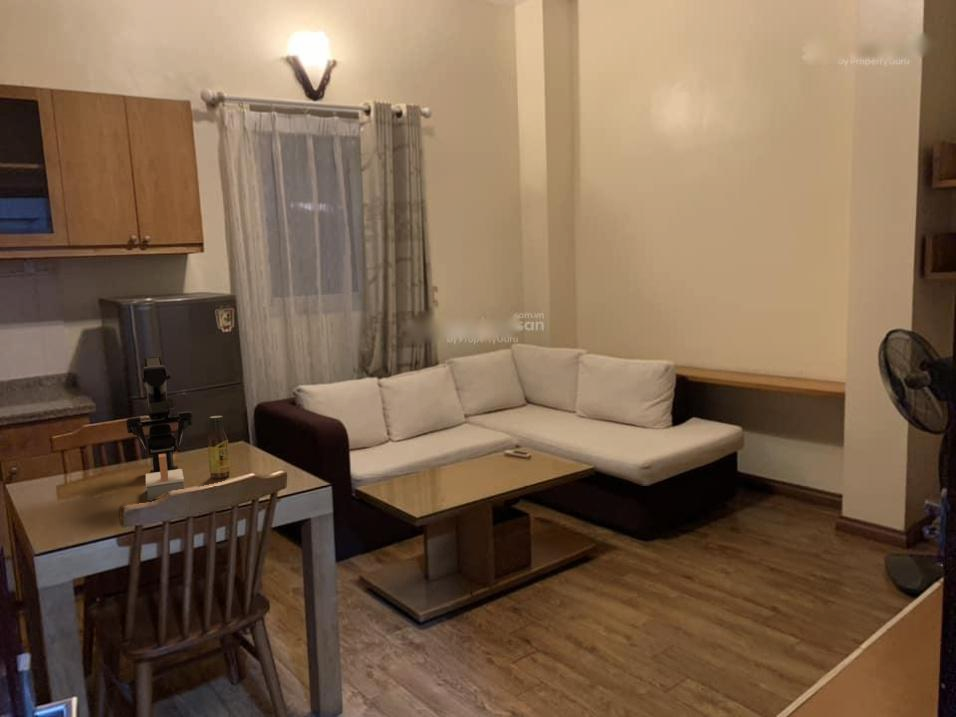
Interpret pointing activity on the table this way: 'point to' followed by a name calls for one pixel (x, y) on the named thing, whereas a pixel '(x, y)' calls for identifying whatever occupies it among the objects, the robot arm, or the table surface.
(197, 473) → the table surface
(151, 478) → the lid
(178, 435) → the robot arm
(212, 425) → the sauce bottle
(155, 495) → the parts tub
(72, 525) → the table surface
